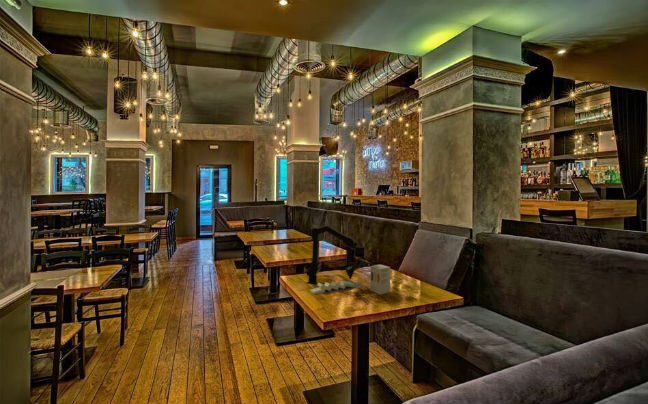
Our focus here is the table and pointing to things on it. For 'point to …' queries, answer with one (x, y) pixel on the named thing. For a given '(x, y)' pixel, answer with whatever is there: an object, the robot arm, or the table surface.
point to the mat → (342, 288)
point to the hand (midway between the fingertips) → (350, 278)
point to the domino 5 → (346, 284)
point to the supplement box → (380, 279)
